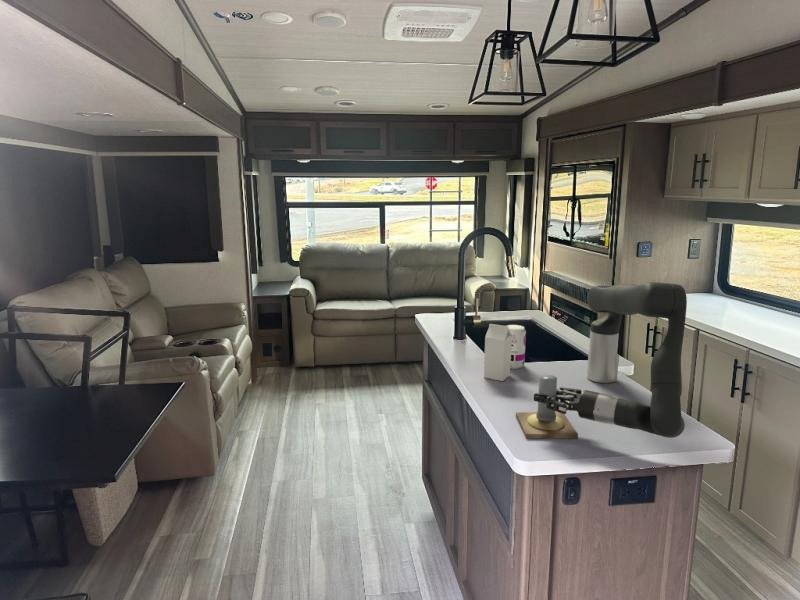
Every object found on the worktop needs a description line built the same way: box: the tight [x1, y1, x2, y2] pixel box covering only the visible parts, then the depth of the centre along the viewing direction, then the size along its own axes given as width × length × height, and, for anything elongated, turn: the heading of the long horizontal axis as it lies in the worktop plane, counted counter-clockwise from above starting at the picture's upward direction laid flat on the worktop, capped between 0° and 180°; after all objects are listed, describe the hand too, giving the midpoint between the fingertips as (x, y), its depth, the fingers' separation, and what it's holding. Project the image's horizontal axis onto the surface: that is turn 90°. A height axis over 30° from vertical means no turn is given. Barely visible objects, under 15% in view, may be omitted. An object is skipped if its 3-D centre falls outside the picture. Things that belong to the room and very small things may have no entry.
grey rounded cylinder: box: [536, 374, 558, 422], centre depth 152 cm, size 5×5×12 cm
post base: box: [515, 411, 579, 439], centre depth 154 cm, size 14×14×2 cm
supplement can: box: [506, 324, 527, 370], centre depth 203 cm, size 8×8×15 cm
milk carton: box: [483, 323, 512, 382], centre depth 191 cm, size 7×7×19 cm
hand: (538, 393), depth 154 cm, fingers closed on grey rounded cylinder, 4 cm apart
